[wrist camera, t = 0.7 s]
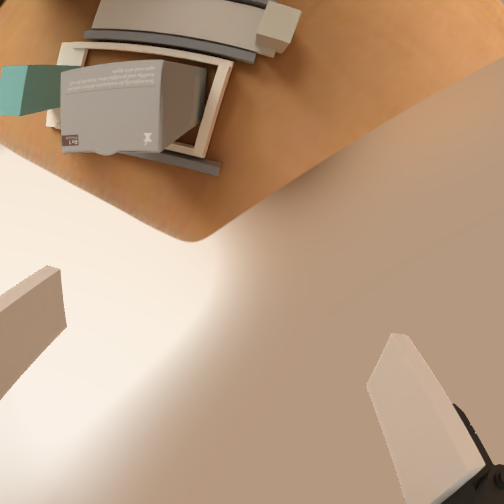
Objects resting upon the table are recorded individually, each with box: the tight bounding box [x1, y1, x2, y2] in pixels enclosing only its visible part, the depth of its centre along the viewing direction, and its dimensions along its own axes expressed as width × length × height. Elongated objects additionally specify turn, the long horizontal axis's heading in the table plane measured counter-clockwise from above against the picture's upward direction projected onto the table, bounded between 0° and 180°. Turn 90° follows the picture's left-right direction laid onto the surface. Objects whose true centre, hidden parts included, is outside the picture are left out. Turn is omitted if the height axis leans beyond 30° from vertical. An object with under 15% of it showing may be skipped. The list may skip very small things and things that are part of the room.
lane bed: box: [83, 0, 276, 177], centre depth 26 cm, size 21×20×2 cm
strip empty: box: [91, 0, 302, 58], centre depth 21 cm, size 5×22×7 cm, turn 73°
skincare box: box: [60, 60, 207, 156], centre depth 22 cm, size 8×7×16 cm
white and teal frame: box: [0, 42, 234, 158], centre depth 23 cm, size 11×22×11 cm, turn 73°
